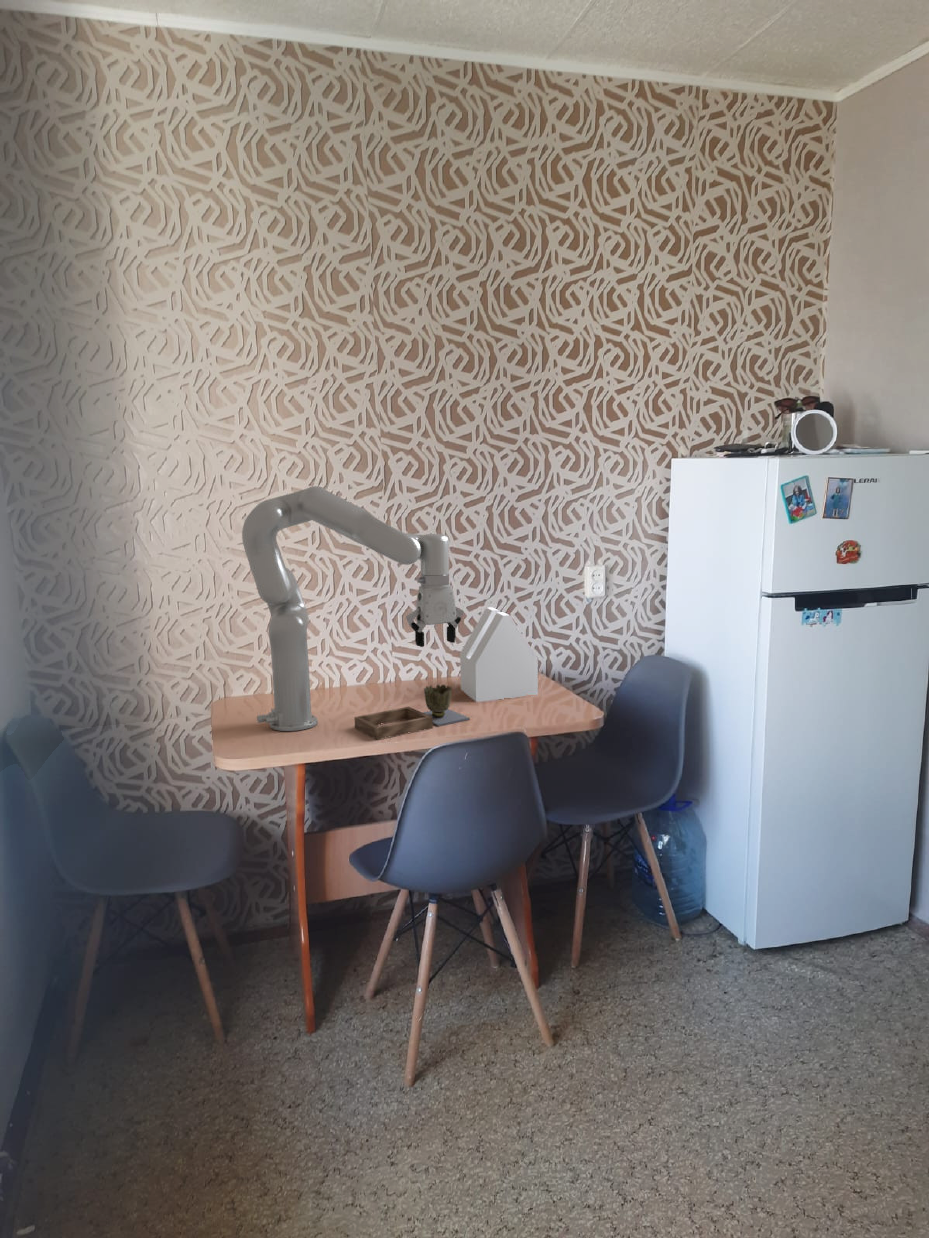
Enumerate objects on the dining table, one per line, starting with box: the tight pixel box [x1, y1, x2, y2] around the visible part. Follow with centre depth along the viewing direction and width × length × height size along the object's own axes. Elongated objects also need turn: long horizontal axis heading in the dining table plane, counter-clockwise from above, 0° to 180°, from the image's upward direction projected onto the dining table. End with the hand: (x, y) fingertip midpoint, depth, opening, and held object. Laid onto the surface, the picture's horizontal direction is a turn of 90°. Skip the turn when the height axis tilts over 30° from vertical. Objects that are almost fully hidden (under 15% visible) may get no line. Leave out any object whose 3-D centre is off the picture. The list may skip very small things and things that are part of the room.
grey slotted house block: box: [459, 606, 539, 703], centre depth 253 cm, size 19×15×25 cm
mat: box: [421, 708, 470, 728], centre depth 230 cm, size 10×12×1 cm
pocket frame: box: [354, 706, 434, 740], centre depth 221 cm, size 16×12×3 cm
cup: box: [423, 684, 452, 718], centre depth 228 cm, size 8×7×8 cm
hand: (435, 643), depth 227 cm, fingers open, 9 cm apart
